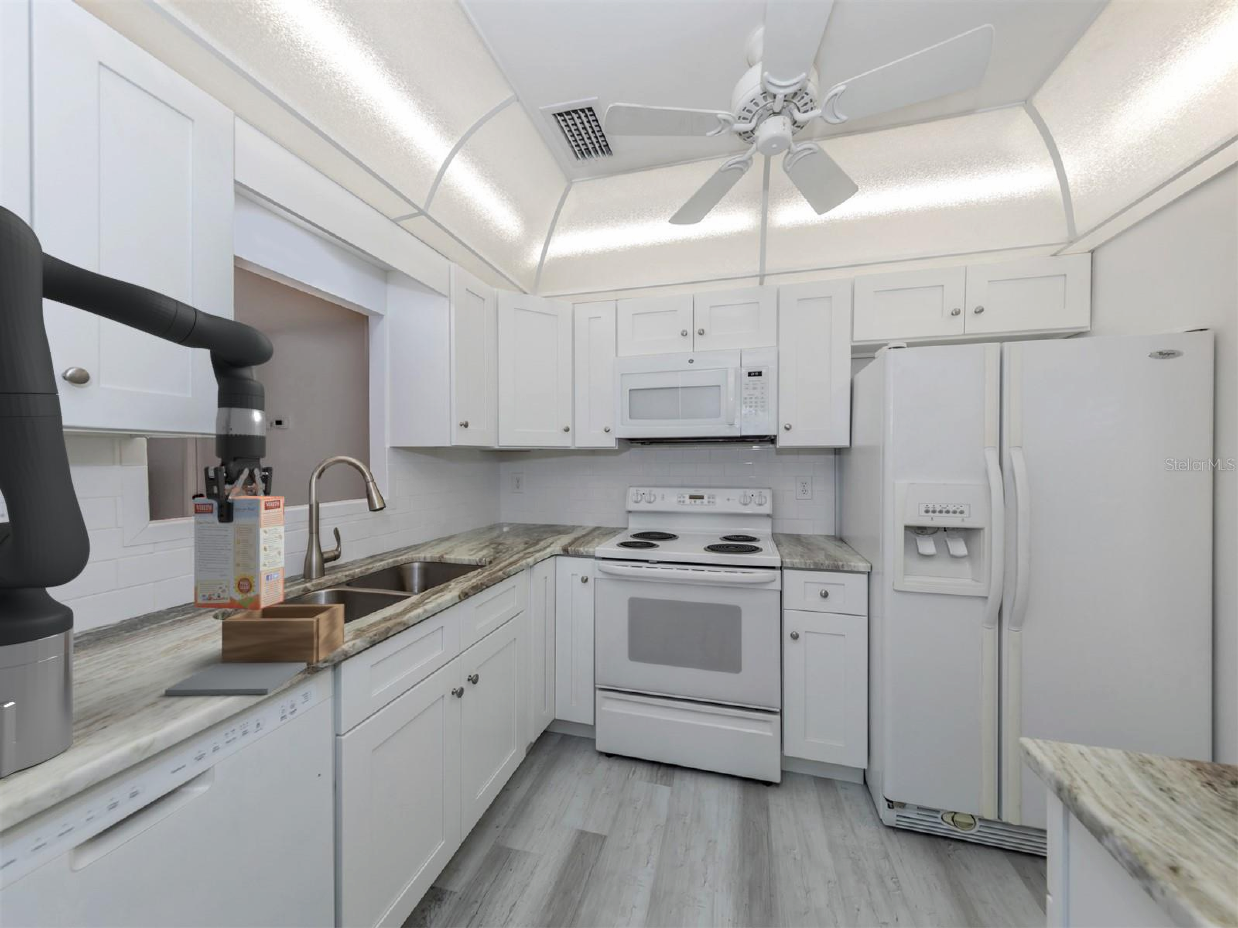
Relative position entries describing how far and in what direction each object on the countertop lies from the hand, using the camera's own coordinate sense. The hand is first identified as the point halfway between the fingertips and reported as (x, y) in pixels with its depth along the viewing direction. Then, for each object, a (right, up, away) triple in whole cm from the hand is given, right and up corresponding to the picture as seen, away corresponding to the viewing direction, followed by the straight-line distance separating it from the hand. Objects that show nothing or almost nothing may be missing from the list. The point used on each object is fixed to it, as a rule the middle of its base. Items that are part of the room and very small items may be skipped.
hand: (240, 520), depth 89 cm
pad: (0, -31, 0) cm, 31 cm away
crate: (-1, -31, +13) cm, 33 cm away
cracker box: (0, -16, 0) cm, 16 cm away
